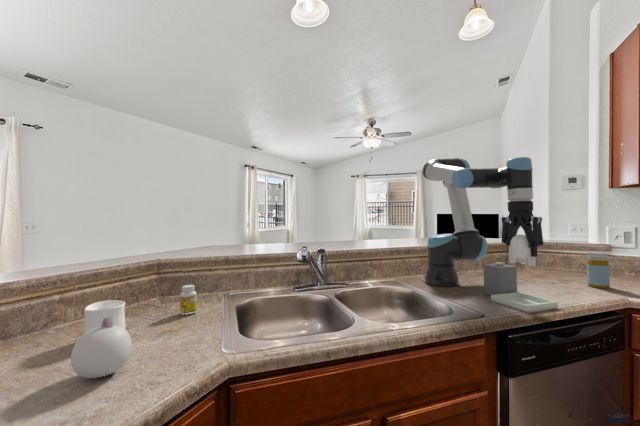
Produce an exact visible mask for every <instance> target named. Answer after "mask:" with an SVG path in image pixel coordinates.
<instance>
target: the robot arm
mask: <svg viewBox="0 0 640 426" xmlns="http://www.w3.org/2000/svg"><path fill="white" fill-rule="evenodd" d="M532 165H533V164H532V158H531V157H528V156H527V157H526V156H524V157H523V156H522V157H521V156H520V157H513V158H510V159H507V161H506V164H505V167H504V166H503V167H500V168H498V167H496V168H493V167H492V168H471V166H470V164H469V162H468V161H467V160H466V159H464V158H458V157H455V158H434V159H433V158H432V159H431V160H428V161H427V162H425V164H424V165H423V166H422V170H421V171H422V175H423V177H424V179H426V180H429V181H434V182H436V181H437V182H438V181H439V182H442V184H443V187H445V188H446V189H447V195H448V199H449V204H450V209H451V210H450V211H451V214H452V221H453V226H454V230H455V231H454V232H453V233H441V234H440V233H439V234H433V235H431V236H428V238H427V245H426V246H427V266H428V267H427V269H426V273H425V275H424V282H425V283H426V284H427V285H431V286H436V287H437V286H438V287H456V286H459V284H460V280H459V279H460V278H459V277H458V274H457V272H456V269H455V268H456V267H455V262H456V261H471V262H472V261H480V260H482V259H484V258H485V256H486V255H487V252H488V241H487V238H486V237H484V236H482V235H480V231H479V230H478V229H477V228H475V224H474V219H473V216H472V211H471V206H470V202H469V197H468V193H467V189H468V188H469V189H472V188H473V189H475V188H483V189H484V188H488V189H500V188H504V187H507V188H506V190H507V200H508V202H507V211H508V212H509V213H508V216H504V217H501V222H502V229H501V243H503V244H505V245H506V253H507V254H508V263H509V264H516V263H517V257H516V254H515V252H514V250H513V249H512V247H511V245H510V241H511V239H512V238H513V237H514V236H516V235H518V232H519V229H520V227H521V229H522V230H523V232H524V235H526V238H527V240H528V243H529V246H528V247H527V258H526V259H527V267H536V266H537V263H536V257H538V247H542V246H544V237H543V231H542V221H543V218H542V217H541V216H535V215H534V214H533V211H534V201H532V200H533V199H534V189H533V166H532Z"/></svg>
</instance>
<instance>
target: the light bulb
mask: <svg viewBox="0 0 640 426" xmlns="http://www.w3.org/2000/svg"><path fill="white" fill-rule="evenodd" d="M510 245H511V247H512V249H513V250H514V252H515V254H516V263H517V264H518V265H520V266H523V265H526V264H528V258H527V247H528V246H529V243H528V240H527V238H526V235H525V234H517V235H516V236H514V237H513V238H512V239H511V241H510Z"/></svg>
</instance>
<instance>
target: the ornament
mask: <svg viewBox="0 0 640 426" xmlns="http://www.w3.org/2000/svg"><path fill="white" fill-rule="evenodd" d="M132 343H133V341H132V338H131V335H130V333H129V331H128V330H126V328H125V329H124V328H122V327H120V326H116V325H112V322H111V318H110V317H106V318H104V319H103V322H102V325H101V326H99V327H96V328H94V329H91V330H90V331H88V332H86V333H85V334H84V333H83V335H81V336H80V337H79V338H78V339H77V341H76V342H75V344H74V346H73V347H72V350H71V354H70V364H71V367H72V369H73V371H74V372H75V374H77V375H78V376H80V377H82V378H85V379H91V378H94V379H96V378H95V377H100V376H104V375H107V374H109V373H112V372H113V373H115V372H116V370H117V371H118V370H119V369H121V368H122V367H123V365H124V364H125V363H126V362H127V360H128V359H129V358H130V354H131V351H132V346H133V344H132ZM114 371H115V372H114ZM113 373H112V374H113ZM107 376H108V375H107ZM104 377H105V376H104Z"/></svg>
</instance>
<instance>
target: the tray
mask: <svg viewBox="0 0 640 426" xmlns="http://www.w3.org/2000/svg"><path fill="white" fill-rule="evenodd" d="M490 301H491V302H494V303H497V304H498V305H499V304H500V305H502V306H505V307H509V308H511V309H515V310H517V311H520V312H523V313H526V314H529V313H536V312H541V311H548V310H556V309H559V302H558V301H556V300H552V299H549V298H544V297H542V296H541V297H540V296H536V295H534V294H530V293H529V294H528V293H525V292H522V291H517V292H513V293H505V294H496V295H490Z"/></svg>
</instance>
